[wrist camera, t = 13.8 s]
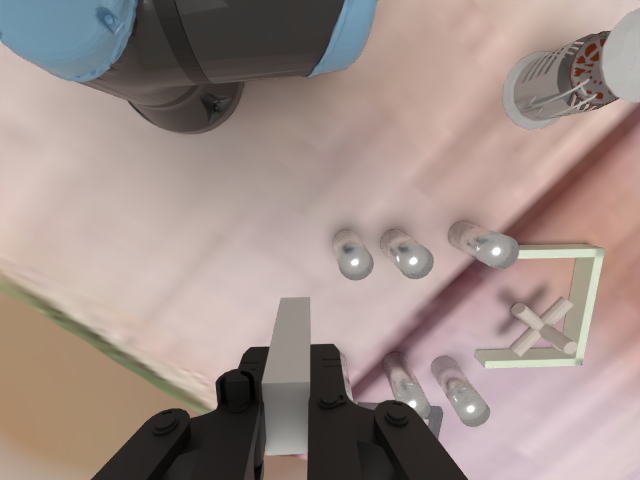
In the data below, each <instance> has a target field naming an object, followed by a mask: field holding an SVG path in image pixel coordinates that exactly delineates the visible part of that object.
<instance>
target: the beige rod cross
mask: <svg viewBox="0 0 640 480" xmlns="http://www.w3.org/2000/svg"><path fill="white" fill-rule="evenodd" d="M573 306H574V305H573V304H572V303H571V302H570V301H568V300H567V299H565V298H563V297H560V298H559V299H558V300H557V301H556V302H555V303H554V304H553V305H552V306H551V307H550V308H548V309H547V310H546V311H545V312H544V313H543V314H542V315H541V316H540V317H538V316H537V315H536V314H535V313H534V312H533V311H532V310H530V309H529V308H528V307H527V306H526V305H525V304H523V303H517V304H515V305H514V306H513V307H512V308H511V313H512V314H513V315H514V316H515V317H517V318H518V319H520V320H521V321H522V322H524V323H525V324H526V325H528V326H529V328H528V329H527V330H526V331H525V332H524V333H523V334H522V335H521V336H520V337H519V338H518V339H517V340H516V341H515V342H514V343H513V344H512V345H511V346H510V348H511V349H512V350H513V351H514V352H515V353H517V354H518V355H519V356H520V357H521V356H522V355H523V354H524V353H525V352H526V351H527V350H528V349H529V348H530V347H531V346H532V345H533V344H534V343H535V342H536V341H537V340H539V339H540V338H541V337H542V338H544V339H545V340H546V341H547V342H548V343H549V344H551V345H552V346H553V347H554V348H555V349H556V350H558V351H563V352H565V353H566V354H572V353H574V352H575V351H576V350H577V347H578V345H577V343H576V342H574V341H573V340H571V339H570V338H568V337H567V336H565V335H564V334H562V333H561V332H559V331H558V330H556V329H555V328H553V327H552V326H553V325H554V324H555V323H556V322H557V321H558V320H559V319H560V318H561V317H562V316H564V315H565V314H566V313H567V312H568V311H569V310H570V309H571V308H572V307H573Z"/></svg>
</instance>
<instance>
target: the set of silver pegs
mask: <svg viewBox="0 0 640 480" xmlns="http://www.w3.org/2000/svg"><path fill="white" fill-rule="evenodd" d="M448 239H449V242H450V244H451V245H452V246H454V247H456V248H458V249H459V250H461V251H463V252H465V253H467V254H469V255H471V256H472V257H474V258H476V259H478V260H480V261H482V262H484V263H485V264H487V265H489V266H491V267H493V268H495V269H504V268H507V267H509V266H511V265H512V264H513V263H514V262H515V261H516V259H517V258H518V255H519V246H518V243H517V242H516V240H515V239H513V238H512V237H509V236H506V235H503V234H500V233H497V232H494V231H491V230H488V229H486V228H483V227H480V226H477V225H474V224H471V223H468V222H458V223H456V224H454V225H453V226H452V227H451V228H450V230H449V233H448ZM380 245H381V249H382V250H383V252H384V253H385V254H386V255H387V256H388V257H389V258H390V260H391V261H392V262H393V263H394V264H395V265H396V266H397V267H398V269H399V270H400V271H401V272H402V273H403V274H404V275H405V276H406V277H408V278H411V279H419V278H422V277H424V276H426V275H427V274H428V273H429V272H430V271H431V269H432V267H433V256H432V254H431V252H430V251H429V250H428V249H427V248H425V247H424V246H422V245H421V244H419V243H418V242H416V241H415V240H413V239H412V238H411V237H409V236H408V235H406V234H405V233H403V232H402V231H400V230H396V229H394V230H389V231H387V232H386V233H385V234H384V235H383V236H382V238H381V242H380ZM333 248H334V251H335V255H336V258H337V261H338V265H339V268H340V271H341V273H342V274H343V275H344V276H345V277H346V278H348V279H350V280H361V279H364V278H365V277H367V276H368V275H369V274H370V273H371V271H372V269H373V264H374V262H373V258H372V255H371V254H370V252H369V251H368V250H367V248H366V247H365V245H364V244H363V243H362V241H361V240H360V238H359V237H358V235H357V234H356V233H354V232H352V231H349V230H344V231H341V232H339V233H338V234H337V235H336V236H335V238H334V240H333ZM340 358H341V364H342V371H343V377H344V383H345V389H346V393H347V395H348V397H349V399H350V400H351V401H352V402H353V398H352V392H351V387H350V382H349V376H348V371H347V365H346V360H345V357H344V355H343V354H342V353H340ZM383 368H384V370H385V373H386V376H387V378H388V381H389V384H390V387H391V389H392V392H393V395H394V397H395V400H396V401H401V402H404V403H406V404H408V405H410V406H411V407H412V408H413V409H414V410H415V411H416V412H417V413H418V414H419V416H420V417H421V418H422V420H424V419H425V418H426V417H427V416H428V415H429V413H430V404H429V402H428V400H427V398H426V396H425V394H424V392H423V390H422V388H421V386H420V384H419V382H418V380H417V378H416V376H415V374H414V372H413V370H412V368H411V366H410V364H409V362H408V360H407V358H406V357H405V355H404V354H402V353H400V352H392V353H389V354H388V355H386V356H385V358H384V360H383ZM431 370H432V373H433V374H434V376H435V378H436V379H437V381H438V383H439V384H440V386H441V388H442V389H443V391H444V393H445V394H446V396H447V398H448V399H449V401H450V403H451V404H452V406H453V408H454V409H455V411H456V413H457V414H458V416H459V418H460V419H461V421H462V422H463V423H464V424H465V425H467V426H470V427H476V426H479V425H482V424H483V423H485V422H486V421H487V419H488V418H489V415H490V409H489V407H488V405H487V404H486V403H485V401H484V400H483V399H482V397H481V396H480V395H479V393H478V392H477V391H476V389H475V388H474V387H473V385H472V384H471V383H470V381H469V380H468V379H467V377H466V376H465V375H464V373H463V372H462V371H461V369H460V368H459V367H458V365H457V364H456V363H455V361H454V360H453V359H452V358H451V357H448V356H441V357H438V358H437V359H435V360H434V362H433V363H432V366H431Z"/></svg>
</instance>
